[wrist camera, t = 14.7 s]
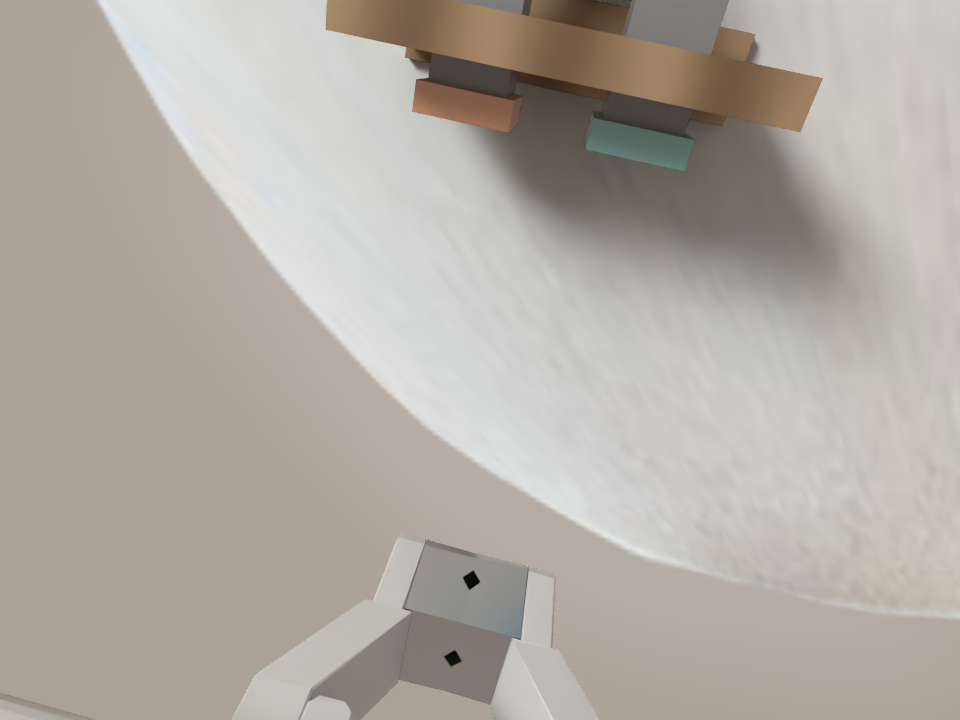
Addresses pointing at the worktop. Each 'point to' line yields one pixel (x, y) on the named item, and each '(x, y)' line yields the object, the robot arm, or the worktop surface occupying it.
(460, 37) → the walnut panel
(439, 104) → the terracotta button
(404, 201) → the worktop surface
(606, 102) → the teal button
